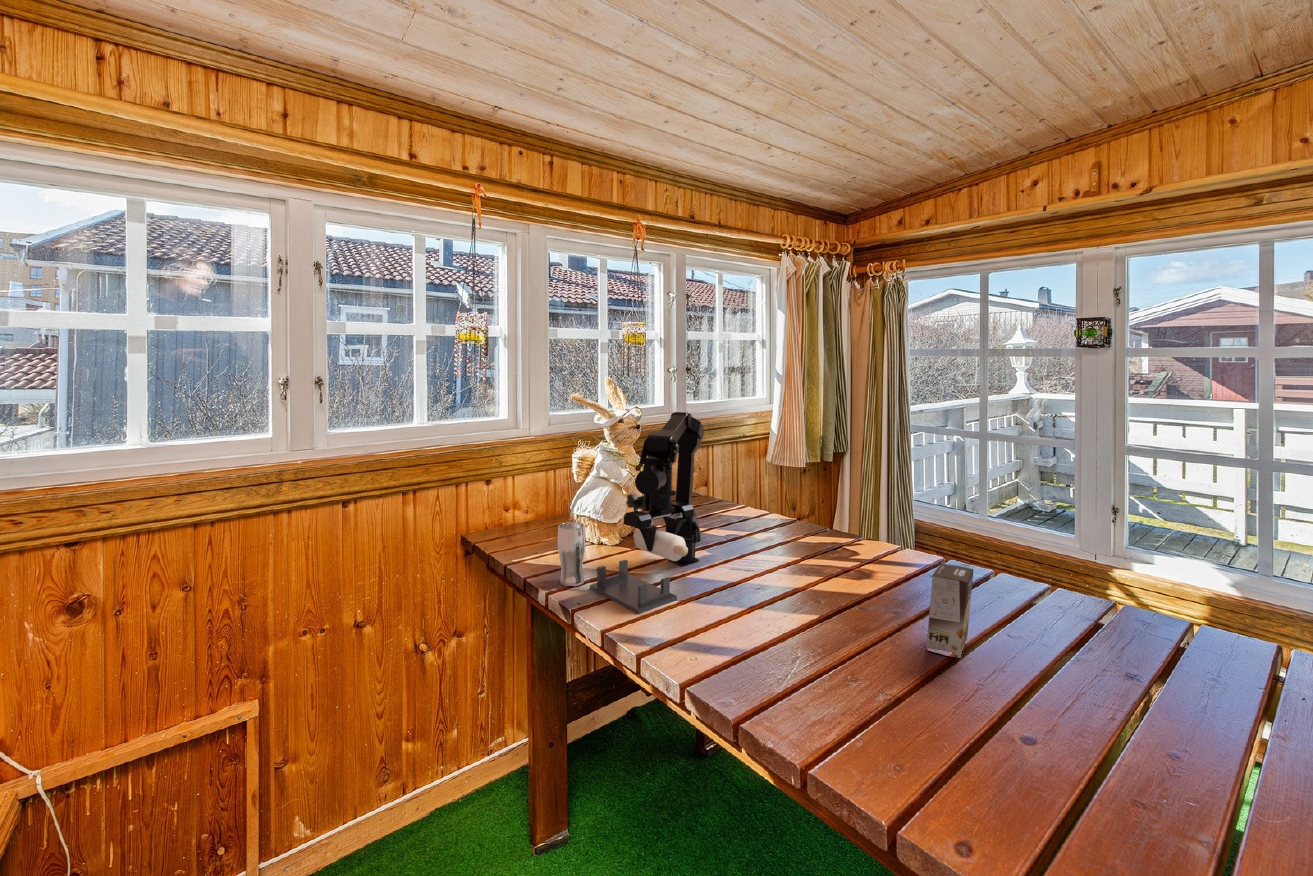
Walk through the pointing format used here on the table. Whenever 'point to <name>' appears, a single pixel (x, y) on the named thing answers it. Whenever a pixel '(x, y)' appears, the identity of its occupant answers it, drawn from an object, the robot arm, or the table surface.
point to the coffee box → (950, 608)
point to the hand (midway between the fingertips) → (659, 548)
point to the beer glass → (571, 552)
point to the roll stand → (632, 590)
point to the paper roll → (663, 545)
